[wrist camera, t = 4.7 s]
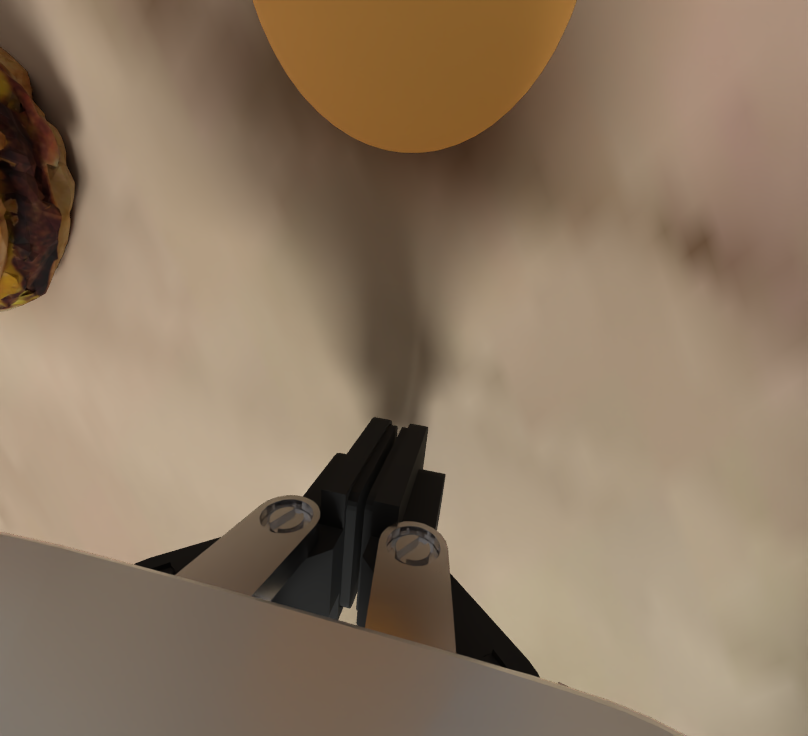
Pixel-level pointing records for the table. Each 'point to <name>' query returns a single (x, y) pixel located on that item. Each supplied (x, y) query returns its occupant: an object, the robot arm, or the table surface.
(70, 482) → the table surface
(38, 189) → the burger
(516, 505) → the table surface
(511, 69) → the ball
